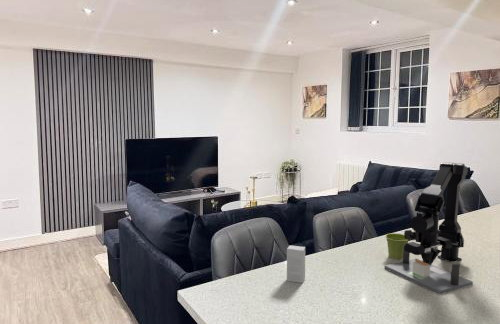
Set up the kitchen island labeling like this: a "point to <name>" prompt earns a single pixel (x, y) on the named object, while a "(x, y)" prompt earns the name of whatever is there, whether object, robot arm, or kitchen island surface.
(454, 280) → the cord post
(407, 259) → the cord post
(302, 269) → the skincare box
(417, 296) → the kitchen island surface
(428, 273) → the orange striped block
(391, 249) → the plant pot
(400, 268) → the panel
